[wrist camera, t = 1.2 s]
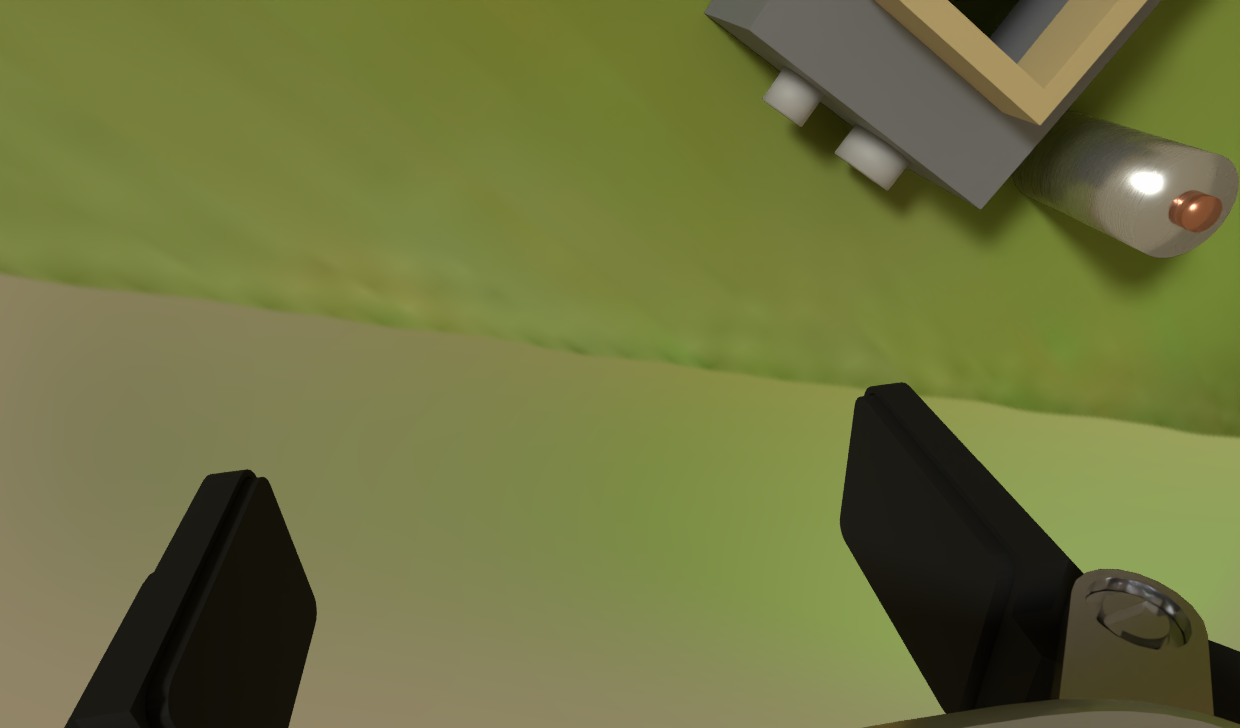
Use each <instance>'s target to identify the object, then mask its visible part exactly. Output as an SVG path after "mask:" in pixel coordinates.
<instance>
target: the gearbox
mask: <svg viewBox="0 0 1240 728" xmlns="http://www.w3.org/2000/svg"><path fill="white" fill-rule="evenodd" d="M1160 2H1161V0H1019V1H1018V2H1017V3H1016V5H1015V6H1014V7H1013V8H1012V10H1011V11H1010V12H1009V13H1008V15H1007V16H1006V17H1005V18H1004V20H1003V21H1002V22H1001V24H1000V25H999V26H998V27H997V29H996V30H995V31H994V32H993V34H992V35H991V36H990V38H988V37H987V36H986V35H985V34H984V33H983V32H982V31H981V30H979V29H978V28H977V27H976V26H975V25H974V24H973V23H972V22H971V21H970V20H969V19H968V18H967V17H965V16H964V15H963V14H962V13H961V12H960V11H959V10H958V9H957V8H956V7H955V6H954V5H952V4H951V3H950V2H949V1H948V0H712V1H711V3H710V5H709V6H708V8H707V9H706V11H705V14H706V15H707V16H709V17H710V18H711V19H713V20H714V21H715V22H716V23H718V24H719V25H720V26H722V27H723V28H724V29H726V30H727V31H728V32H730V33H731V34H732V35H733V36H735V37H736V38H737V39H739V40H740V41H741V42H743V43H744V44H745V45H747V46H748V47H749V48H750V49H752V50H753V51H754V52H756V53H757V54H758V55H760V56H761V57H762V58H764V59H765V60H766V61H767V62H769V63H770V64H771V65H773V66H774V67H775V68H777V69H778V70H779V71H781V72H780V74H779V75H778V77H777V78H776V79H775V81H774V82H773V84H772V85H771V87H770V88H769V90H768V91H767V92H766V94H765V95H764V97H763V98H762V99H763V100H764V101H765V102H766V103H768V104H769V105H770V106H772V107H773V108H774V109H776V110H777V111H778V112H780V113H781V114H783V115H784V116H785V117H787V118H788V119H790V120H791V121H793V122H794V123H795V124H797V125H798V126H800V127H802V126H803V125H804V123H805V122H806V120H807V119H808V118H809V116H810V115H811V114H812V112H813V111H814V109H815V108H816V107H817V105H818V104H819V102H821V103H822V104H824V105H825V106H826V107H828V108H829V109H830V110H832V111H833V112H834V113H836V114H837V115H838V116H839V117H841V118H842V119H843V120H845V121H846V122H847V123H849V124H850V125H851V126H853V128H852V130H851V131H850V132H849V134H848V135H847V136H846V138H845V139H844V140H843V142H842V143H841V144H840V146H839V147H838V148H837V150H836V151H835V152H834V153H835V154H836V155H837V156H839V157H840V158H841V159H843V160H844V161H845V162H847V163H848V164H849V165H851V166H852V167H854V168H855V169H856V170H858V171H859V172H860V173H862V174H863V175H865V176H866V177H868V178H869V179H870V180H872V181H873V182H875V183H876V184H878V185H879V186H881V187H882V188H884V189H885V190H887V191H888V190H889V189H890V188H891V186H892V185H893V184H894V183H895V181H896V180H897V179H898V178H899V176H900V175H901V174H902V173H903V171H904V170H905V169H906V168H908V169H909V170H911V171H913V172H915V173H917V174H918V175H920V176H922V177H924V178H925V179H927V180H929V181H931V182H932V183H934V184H936V185H938V186H939V187H941V188H943V189H945V190H947V191H948V192H950V193H952V194H954V195H955V196H957V197H959V198H961V199H962V200H964V201H966V202H968V203H969V204H971V205H973V206H975V207H977V208H978V209H980V210H981V209H982V208H983V207H984V206H985V204H986V203H987V202H988V201H989V200H990V199H991V197H992V196H993V195H994V194H995V193H996V192H997V190H998V189H999V188H1000V187H1001V186H1002V185H1003V184H1004V182H1005V181H1006V180H1007V179H1008V178H1009V177H1010V175H1011V174H1012V173H1013V172H1014V171H1015V170H1016V168H1017V167H1018V166H1019V165H1020V164H1021V163H1022V162H1023V160H1024V159H1025V158H1026V157H1027V156H1028V155H1029V153H1030V152H1031V151H1032V150H1033V149H1034V148H1035V146H1036V145H1037V144H1038V143H1039V142H1040V141H1041V139H1042V138H1043V137H1044V136H1045V135H1046V134H1047V133H1048V131H1049V130H1050V129H1051V128H1052V127H1053V126H1054V124H1055V123H1056V122H1057V121H1058V120H1059V119H1060V117H1061V116H1062V115H1063V114H1064V113H1065V112H1066V111H1067V109H1068V108H1069V107H1070V106H1071V105H1072V104H1073V102H1074V101H1075V100H1076V99H1077V98H1078V97H1079V95H1080V94H1081V93H1082V92H1083V91H1084V90H1085V88H1086V87H1087V86H1088V85H1089V84H1090V83H1091V82H1092V80H1093V79H1094V78H1095V77H1096V76H1097V75H1098V73H1099V72H1100V71H1101V70H1102V69H1103V68H1104V66H1105V65H1106V64H1107V63H1108V62H1109V61H1110V59H1111V58H1112V57H1113V56H1114V55H1115V54H1116V53H1117V51H1118V50H1119V49H1120V48H1121V47H1122V46H1123V44H1124V43H1125V42H1126V41H1127V40H1128V39H1129V37H1130V36H1131V35H1132V34H1133V33H1134V32H1135V31H1136V29H1137V28H1138V27H1139V26H1140V25H1141V24H1142V22H1143V21H1144V20H1145V19H1146V18H1147V17H1148V15H1149V14H1150V13H1151V12H1152V11H1153V10H1154V8H1155V7H1156V6H1157V5H1158V4H1159V3H1160Z"/></svg>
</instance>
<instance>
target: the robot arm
mask: <svg viewBox="0 0 1240 728" xmlns="http://www.w3.org/2000/svg"><path fill="white" fill-rule="evenodd" d="M840 527H841V532H842V535H843V538H844V540H845V542H846V544H847V546H848V547H849V549H850V551H851V552H852V554H853V556H854V557H855V559H856V561H857V563H858V565H859V566H860V568H861V570H862V571H863V573H864V575H865V577H866V578H867V580H868V582H869V584H870V585H871V587H872V589H873V590H874V592H875V594H876V596H877V597H878V599H879V601H880V602H881V604H882V606H883V608H884V609H885V611H886V613H887V614H888V616H889V618H890V619H891V621H892V623H893V625H894V626H895V628H896V630H897V632H898V633H899V635H900V637H901V639H902V640H903V642H904V644H905V645H906V647H907V649H908V651H909V652H910V654H911V656H912V657H913V659H914V661H915V663H916V664H917V666H918V668H919V669H920V671H921V673H922V675H923V676H924V678H925V680H926V681H927V683H928V685H929V686H930V688H931V690H932V692H933V694H934V695H935V697H936V699H937V700H938V702H939V704H940V706H941V707H942V708H943V710H944V712H945V713H946V714H943V715H937V716H930V717H924V718H917V719H911V720H904V721H898V722H893V723H887V724H881V725H875V726H870V727H864V728H1240V652H1239V651H1236V650H1233V649H1231V648H1229V647H1226V646H1223V645H1221V644H1218V643H1215V642H1213V641H1210V640H1208V635H1207V631H1206V628H1205V625H1204V622H1203V620H1202V618H1201V617H1200V616H1199V614H1198V613H1197V612H1196V610H1195V609H1194V608H1193V606H1192V605H1191V604H1189V603H1188V602H1187V601H1186V600H1184V598H1182V597H1181V596H1180V595H1179V594H1178V593H1176V592H1175V591H1173V590H1171V589H1170V588H1168V587H1166V586H1165V585H1163V584H1161V583H1159V582H1158V581H1155V580H1153V579H1150V578H1148V577H1145V576H1143V575H1140V574H1137V573H1133V572H1128V571H1124V570H1119V569H1098V570H1094V571H1090V572H1087V573H1085V574H1083V573H1082V572H1081V570H1080V569H1079V568H1078V567H1077V566H1076V565H1075V564H1074V563H1073V562H1072V561H1071V560H1070V559H1069V557H1068V556H1067V555H1066V554H1065V553H1064V552H1063V551H1062V550H1061V549H1060V548H1059V547H1058V546H1057V545H1056V544H1055V542H1054V541H1053V540H1052V539H1051V538H1050V537H1049V536H1048V535H1047V534H1046V533H1045V532H1044V530H1043V529H1042V528H1041V527H1040V526H1039V525H1038V524H1037V523H1036V522H1035V521H1034V520H1033V519H1032V518H1031V517H1030V516H1029V514H1028V513H1027V512H1026V511H1025V510H1024V509H1023V508H1022V507H1021V506H1020V505H1019V504H1018V503H1017V501H1016V500H1015V499H1014V498H1013V497H1012V496H1011V495H1010V494H1009V493H1008V492H1007V491H1006V489H1005V488H1004V487H1003V486H1002V485H1001V484H1000V483H999V482H998V481H997V480H996V479H995V478H994V477H993V475H991V473H990V472H989V471H988V470H987V469H986V468H985V467H984V466H983V465H982V464H981V463H980V462H979V461H978V460H977V459H976V457H975V456H974V455H973V454H972V453H971V452H970V451H969V450H968V449H967V448H966V447H965V446H964V445H963V443H961V441H960V440H958V438H957V437H956V436H955V435H954V434H953V433H952V432H951V431H950V429H949V428H948V427H947V426H946V425H945V424H944V423H943V422H942V421H941V420H940V419H939V418H938V417H937V415H935V413H934V412H933V411H932V410H931V409H930V408H929V407H928V406H927V405H926V404H925V402H924V401H923V400H922V399H921V398H920V397H919V396H918V395H917V394H916V393H915V392H914V391H913V390H912V388H911V387H910V386H909V385H907V384H906V383H902V382H901V383H893V384H886V385H878V386H871V387H869V388H867V390H866V392H865V395H864V396H862V397H859V398H857V400H856V402H855V408H854V415H853V423H852V431H851V438H850V446H849V453H848V461H847V468H846V476H845V484H844V491H843V499H842V507H841V514H840ZM316 615H317V610H316V601H315V598H314V595H313V592H312V590H311V587H310V585H309V582H308V580H307V577H306V574H305V572H304V569H303V567H302V564H301V562H300V559H299V557H298V554H297V552H296V549H295V547H294V544H293V541H292V539H291V537H290V534H289V531H288V529H287V526H286V524H285V521H284V518H283V516H282V514H281V511H280V508H279V506H278V503H277V501H276V498H275V496H274V493H273V491H272V488H271V486H270V483H269V481H268V480H267V479H266V478H265V477H260V478H257V477H256V475H255V474H254V473H253V472H252V471H251V470H248V469H247V470H240V471H232V472H224V473H217V474H210V475H208V476H207V477H206V478H205V479H204V480H203V482H202V484H201V486H200V488H199V490H198V491H197V493H196V495H195V497H194V499H193V501H192V502H191V504H190V506H189V508H188V510H187V512H186V514H185V516H184V517H183V519H182V521H181V523H180V525H179V527H178V528H177V530H176V532H175V534H174V536H173V538H172V540H171V541H170V543H169V545H168V547H167V549H166V551H165V553H164V555H163V557H162V558H161V560H160V562H159V564H158V566H157V568H156V569H155V572H153V573H152V574H150V575H149V576H148V578H147V579H146V580H145V582H144V583H143V584H142V586H141V588H140V590H139V592H138V594H137V595H136V597H135V599H134V601H133V603H132V605H131V607H130V608H129V610H128V612H127V614H126V616H125V617H124V619H123V621H122V623H121V625H120V627H119V629H118V630H117V632H116V634H115V636H114V638H113V640H112V641H111V643H110V645H109V647H108V649H107V651H106V652H105V654H104V656H103V658H102V660H101V661H100V663H99V665H98V667H97V669H96V671H95V672H94V674H93V676H92V678H91V680H90V682H89V683H88V685H87V687H86V689H85V691H84V693H83V694H82V696H81V698H80V700H79V702H78V704H77V706H76V707H75V709H74V711H73V713H72V715H71V717H70V718H69V720H68V722H67V724H66V726H65V727H64V728H288V726H289V722H290V719H291V715H292V711H293V707H294V704H295V700H296V696H297V692H298V688H299V684H300V681H301V677H302V673H303V669H304V665H305V662H306V658H307V654H308V650H309V646H310V643H311V639H312V635H313V631H314V627H315V623H316Z"/></svg>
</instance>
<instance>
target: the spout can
mask: <svg viewBox="0 0 1240 728" xmlns="http://www.w3.org/2000/svg"><path fill="white" fill-rule="evenodd" d="M1012 175H1013V179H1014V182H1015V185H1016V186H1017V188H1018V189H1019V190H1020V191H1021V192H1022V193H1023V194H1025V195H1027V196H1029V197H1031V198H1033V199H1035V200H1037V201H1039V202H1041V203H1043V204H1045V205H1047V206H1049V207H1051V208H1053V209H1055V210H1057V211H1059V212H1062V213H1064V214H1066V215H1068V216H1070V217H1072V218H1074V219H1076V220H1078V221H1080V222H1082V223H1084V224H1086V225H1088V226H1090V227H1092V228H1094V229H1096V230H1098V231H1100V232H1102V233H1104V234H1107V235H1109V236H1111V237H1113V238H1115V239H1117V240H1119V241H1121V242H1123V243H1125V244H1127V245H1129V246H1131V247H1133V248H1135V249H1137V250H1139V251H1141V252H1143V253H1145V254H1147V255H1150V256H1152V257H1157V258H1169V257H1174V256H1178V255H1181V254H1183V253H1186V252H1188V251H1190V250H1192V249H1194V248H1195V247H1197V246H1198V245H1200V244H1201V243H1203V242H1204V241H1205V240H1207V239H1208V238H1209V237H1210V236H1211V235H1212V234H1213V233H1214V232H1215V231H1216V230H1217V229H1218V228H1219V227H1220V225H1221V224H1222V223H1223V222H1224V220H1225V219H1226V217H1227V216H1228V214H1229V212H1230V211H1231V209H1232V207H1233V204H1234V202H1235V199H1236V196H1237V192H1238V183H1239V181H1238V174H1237V170H1236V168H1235V166H1234V165H1233V163H1232V162H1231V161H1230V160H1229V159H1227V158H1226V157H1224V156H1221V155H1218V154H1215V153H1212V152H1208V151H1205V150H1202V149H1198V148H1195V147H1192V146H1188V145H1185V144H1182V143H1179V142H1175V141H1172V140H1169V139H1165V138H1162V137H1159V136H1155V135H1152V134H1149V133H1145V132H1142V131H1139V130H1136V129H1132V128H1129V127H1126V126H1122V125H1119V124H1116V123H1112V122H1109V121H1106V120H1103V119H1099V118H1096V117H1093V116H1089V115H1086V114H1083V113H1079V112H1076V111H1066V112H1065V113H1064V114H1063V115H1062V116H1061V117H1060V119H1059V120H1058V121H1057V122H1056V123H1055V124H1054V126H1053V127H1052V128H1051V129H1050V130H1049V131H1048V133H1047V134H1046V135H1045V136H1044V137H1043V138H1042V139H1041V141H1040V142H1039V143H1038V144H1037V145H1036V146H1035V148H1034V149H1033V150H1032V151H1031V152H1030V153H1029V155H1028V156H1027V157H1026V158H1025V159H1024V160H1023V162H1022V163H1021V164H1020V165H1019V166H1018V167H1017V168H1016V170H1015V171H1014V172H1013V173H1012Z"/></svg>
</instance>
